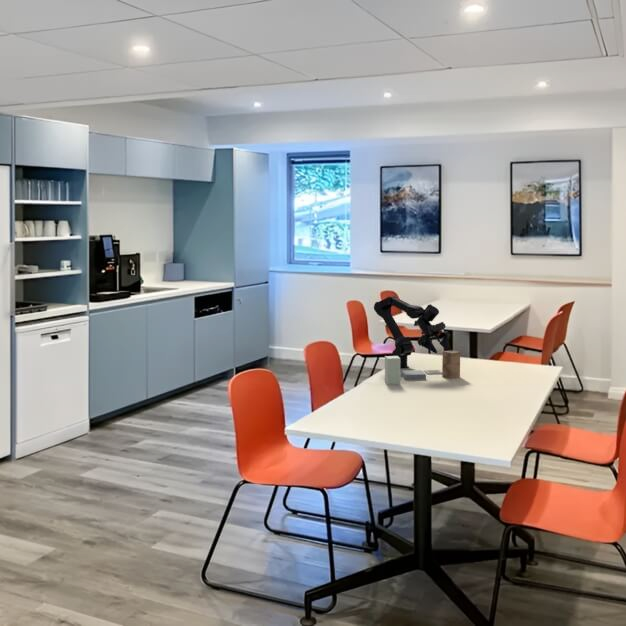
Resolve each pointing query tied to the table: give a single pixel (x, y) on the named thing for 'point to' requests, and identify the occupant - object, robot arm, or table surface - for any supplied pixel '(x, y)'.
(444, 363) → the walnut pillar
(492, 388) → the table surface
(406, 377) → the slate block
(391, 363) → the sage pillar
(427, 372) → the tile
